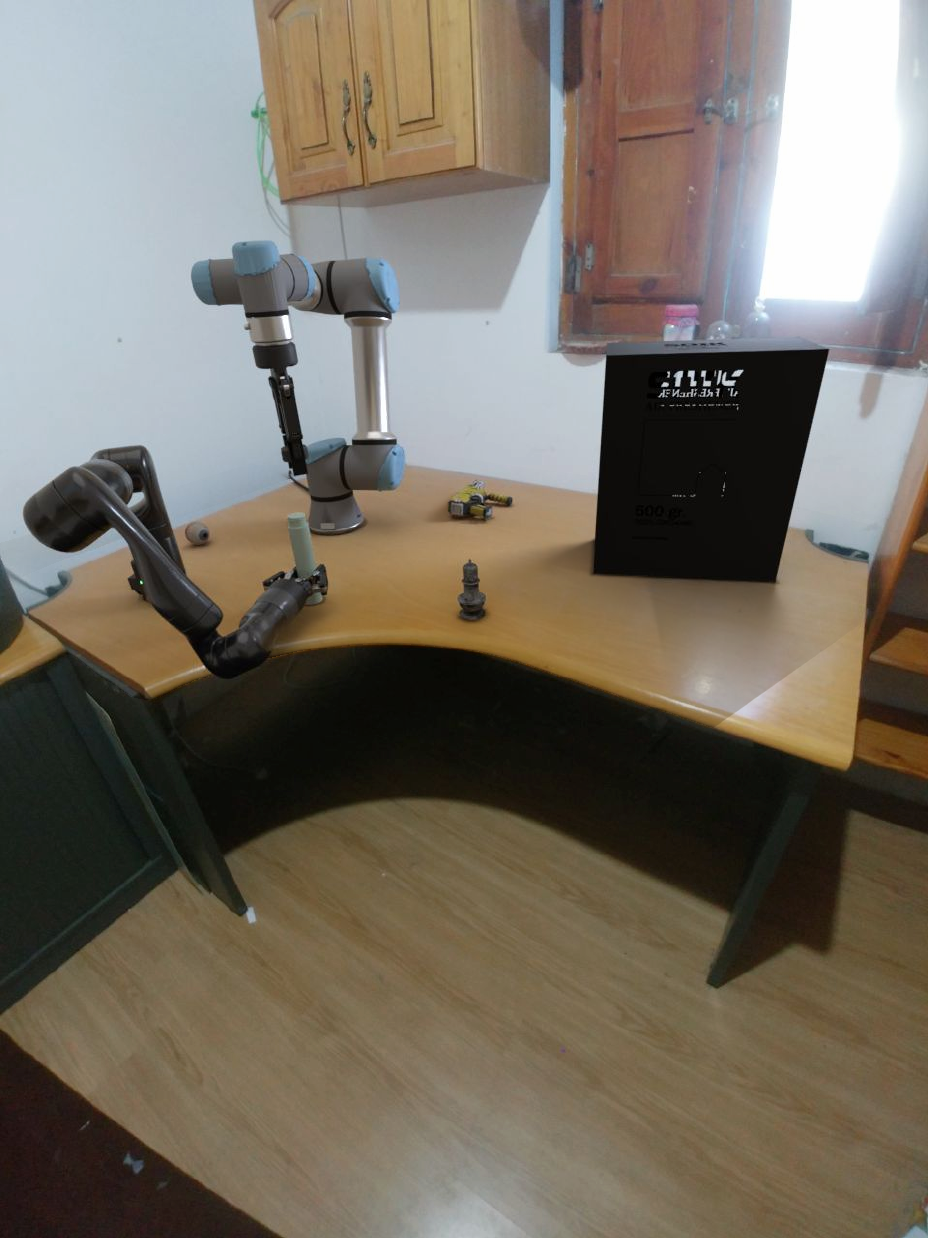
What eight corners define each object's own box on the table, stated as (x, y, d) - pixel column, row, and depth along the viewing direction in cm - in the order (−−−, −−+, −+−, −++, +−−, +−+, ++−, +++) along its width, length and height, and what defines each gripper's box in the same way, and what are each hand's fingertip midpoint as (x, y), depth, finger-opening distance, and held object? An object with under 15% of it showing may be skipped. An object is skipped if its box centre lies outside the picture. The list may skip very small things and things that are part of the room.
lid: (308, 460, 117) (306, 449, 115) (282, 463, 116) (280, 451, 115) (308, 454, 121) (306, 442, 120) (283, 457, 120) (281, 445, 119)
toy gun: (520, 484, 182) (474, 477, 186) (498, 508, 162) (446, 499, 166) (519, 500, 184) (473, 492, 188) (497, 524, 164) (445, 516, 168)
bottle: (320, 604, 129) (303, 518, 119) (301, 605, 129) (283, 519, 119) (324, 595, 132) (308, 511, 123) (305, 596, 132) (288, 512, 123)
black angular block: (755, 543, 144) (798, 336, 121) (775, 581, 127) (829, 348, 104) (594, 538, 151) (606, 342, 129) (592, 573, 134) (606, 355, 112)
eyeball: (198, 549, 158) (192, 528, 155) (183, 545, 161) (177, 524, 158) (217, 541, 163) (211, 520, 160) (202, 538, 166) (196, 517, 163)
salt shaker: (484, 621, 119) (482, 566, 113) (455, 619, 120) (451, 564, 114) (489, 607, 124) (487, 553, 118) (461, 605, 125) (458, 552, 119)
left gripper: (310, 589, 112) (341, 552, 127) (239, 587, 114) (278, 550, 129) (317, 624, 116) (346, 584, 130) (248, 621, 118) (285, 582, 133)
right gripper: (246, 340, 114) (273, 462, 126) (257, 349, 99) (286, 486, 111) (286, 336, 116) (309, 457, 128) (302, 344, 102) (326, 479, 114)
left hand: (312, 567), depth 130 cm, fingers closed on bottle, 4 cm apart
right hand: (298, 470), depth 120 cm, fingers closed on lid, 5 cm apart
